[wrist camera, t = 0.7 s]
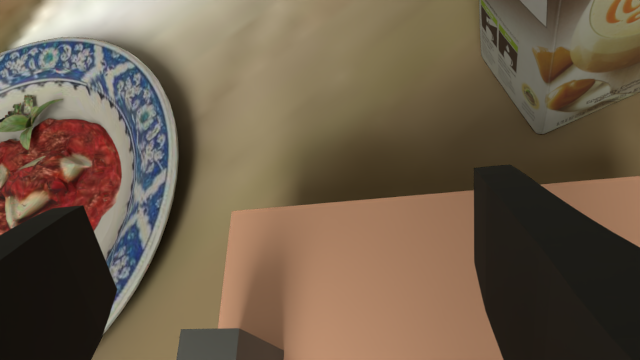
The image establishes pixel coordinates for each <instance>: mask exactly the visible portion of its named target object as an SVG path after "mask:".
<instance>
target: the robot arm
mask: <svg viewBox="0 0 640 360" xmlns="http://www.w3.org/2000/svg"><path fill="white" fill-rule="evenodd" d="M474 264H475V268H476V273H477V277H478V282H479V286H480V290H481V295H482V299H483V303H484V307H485V311H486V314H487V317H488V319H489V322H490V325H491V328H492V330H493V333H494V336H495V338H496V341H497V344H498V347H499V349H500V352H501V355H502V357H503V360H640V247H638V246H637V245H635V244H633V243H631V242H630V241H628V240H626V239H624V238H623V237H621V236H619V235H617V234H616V233H614V232H612V231H610V230H609V229H607V228H605V227H604V226H602V225H600V224H599V223H597V222H596V221H594V220H592V219H591V218H589V217H588V216H586V215H584V214H583V213H581V212H580V211H578V210H577V209H575V208H574V207H572V206H571V205H569V204H567V203H566V202H565V201H563V200H562V199H560V198H559V197H557V196H556V195H554V194H553V193H551V192H550V191H548V190H547V189H545V188H544V187H543V186H541V185H540V184H538V183H537V182H535V181H534V180H533V179H531V178H530V177H528V176H527V175H525V174H524V173H522V172H521V171H519V170H518V169H516V168H515V167H513V166H511V165H500V166H490V167H479V168H474ZM116 293H117V287H116V285H115V282H114V280H113V278H112V275H111V273H110V270H109V268H108V265H107V263H106V260H105V258H104V255H103V253H102V250H101V248H100V245H99V243H98V240H97V238H96V236H95V233H94V231H93V228H92V226H91V223H90V221H89V218H88V216H87V213H86V211H85V208H84V206H83V205H81V206H70V207H60V208H52V209H50V210H48V211H45V212H43V213H41V214H38V215H36V216H34V217H32V218H30V219H29V220H27V221H25V222H23V223H21V224H19V225H17V226H15V227H14V228H12V229H10V230H8V231H7V232H5V233H3V234H1V235H0V360H91V359H92V357H93V355H94V353H95V351H96V348H97V346H98V344H99V342H100V340H101V338H102V336H103V333H104V330H105V327H106V324H107V321H108V319H109V316H110V312H111V309H112V306H113V303H114V299H115V296H116Z"/></svg>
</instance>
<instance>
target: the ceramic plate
mask: <svg viewBox="0 0 640 360" xmlns="http://www.w3.org/2000/svg"><path fill="white" fill-rule="evenodd" d="M178 159H179V157H178V136H177V129H176V122H175V119H174V115H173V112H172V108H171V105H170V101H169V99H168V97H167V95H166V94H165V92H164V90H163V88H162V86H161V84H160V82H159V81H158V79H157V78H156V76H155V75H154V74H153V73H152V71H151V70H150V69H149V68H148V67H147V66H146V65H145V64H144V63H143V62H141V61H140V60H139V59H138V58H137V57H136V56H134V55H133V54H131V53H130V52H128V51H126V50H124V49H122V48H121V47H119V46H116V45H113V44H111V43H108V42H105V41H100V40H95V39H89V38H79V37H61V38H54V39H48V40H43V41H38V42H34V43H30V44H26V45H23V46H20V47H17V48H14V49H11V50H8V51H5V52H3V53H1V54H0V235H1V234H3V233H5V232H7V231H8V230H10V229H12V228H14V227H15V226H17V225H19V224H21V223H23V222H25V221H27V220H29V219H30V218H32V217H34V216H36V215H38V214H41V213H43V212H45V211H48V210H50V209H52V208H60V207H70V206H81V205H83V206H84V208H85V211H86V213H87V216H88V218H89V221H90V223H91V226H92V228H93V231H94V233H95V236H96V238H97V240H98V243H99V245H100V248H101V250H102V253H103V255H104V258H105V260H106V263H107V265H108V268H109V270H110V273H111V275H112V278H113V280H114V282H115V285H116V287H117V293H116V296H115V299H114V303H113V306H112V309H111V312H110V316H109V319H108V321H107V324H106V327H105V330H104V333H105V332H106V331H107V330H108V328H109V327H110V326H111V324H112V323H113V322H114V320H115V319H116V318H117V317H118V315H119V314H120V313H121V311H122V310H123V309H124V307H125V305H126V304H127V302H128V301H129V299H130V298H131V296H132V295H133V293H134V292H135V290H136V289H137V287H138V285H139V283H140V281H141V280H142V278H143V276H144V274H145V272H146V271H147V269H148V267H149V265H150V263H151V261H152V258H153V256H154V254H155V252H156V250H157V247H158V245H159V243H160V240H161V238H162V235H163V232H164V229H165V226H166V224H167V221H168V217H169V214H170V210H171V206H172V202H173V198H174V193H175V187H176V181H177V172H178ZM104 333H103V334H104Z"/></svg>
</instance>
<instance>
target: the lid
mask: <svg viewBox="0 0 640 360" xmlns="http://www.w3.org/2000/svg"><path fill="white" fill-rule="evenodd" d="M541 186H543V187H544V188H545V189H547V190H548V191H550V192H551V193H553V194H554V195H556V196H557V197H559V198H560V199H562V200H563V201H565V202H566V203H567V204H569V205H571V206H572V207H574V208H575V209H577V210H578V211H580V212H581V213H583V214H584V215H586V216H588V217H589V218H591V219H592V220H594V221H596V222H597V223H599V224H600V225H602V226H604V227H605V228H607V229H609V230H610V231H612V232H614V233H616V234H617V235H619V236H621V237H623V238H624V239H626V240H628V241H630V242H631V243H633V244H635V245H637V246H638V247H640V176H633V177H622V178H610V179H599V180H587V181H575V182H564V183H552V184H541ZM177 360H503V357H502V355H501V352H500V349H499V347H498V344H497V341H496V338H495V336H494V333H493V330H492V328H491V325H490V322H489V319H488V317H487V314H486V311H485V307H484V303H483V299H482V295H481V290H480V286H479V282H478V277H477V273H476V268H475V264H474V190H471V191H459V192H448V193H436V194H425V195H413V196H401V197H390V198H378V199H367V200H355V201H344V202H332V203H320V204H309V205H297V206H286V207H274V208H262V209H251V210H239V211H232V215H231V223H230V231H229V240H228V248H227V256H226V265H225V273H224V282H223V290H222V298H221V307H220V315H219V323H218V329H181V333H180V340H179V347H178V353H177Z"/></svg>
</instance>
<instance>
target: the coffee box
mask: <svg viewBox="0 0 640 360" xmlns="http://www.w3.org/2000/svg"><path fill="white" fill-rule="evenodd" d="M479 12H480V39H481V55H482V58H483V59H484V61H485V62H486V64H487V65H488V66H489V68H490V69H491V71H492V72H493V74H494V75H495V77H496V78H497V79H498V81H499V82H500V84H501V85H502V86H503V88H504V89H505V91H506V92H507V94H508V95H509V97H510V98H511V99H512V101H513V102H514V104H515V105H516V106H517V108H518V109H519V111H520V112H521V113H522V115H523V116H524V118H525V119H526V120H527V122H528V123H529V124H530V126H531V127H532V128H533V130H534V131H535V132H536V133H538V134H545V133H547V132H549V131H552V130H554V129H556V128H558V127H561V126H563V125H565V124H568V123H570V122H572V121H574V120H577V119H579V118H581V117H584V116H586V115H588V114H590V113H593V112H595V111H597V110H599V109H602V108H604V107H606V106H608V105H611V104H613V103H615V102H618V101H620V100H622V99H625V98H627V97H629V96H632V95H634V94H636V93H638V92H640V0H479Z"/></svg>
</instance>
